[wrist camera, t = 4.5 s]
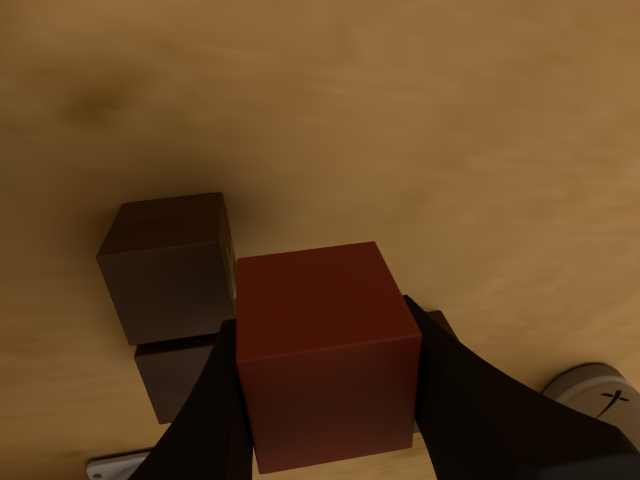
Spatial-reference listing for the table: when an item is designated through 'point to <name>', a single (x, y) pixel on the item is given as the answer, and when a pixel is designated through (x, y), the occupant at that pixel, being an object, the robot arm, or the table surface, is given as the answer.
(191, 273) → the T block
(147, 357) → the dark brown cube block
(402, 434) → the block
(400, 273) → the table surface
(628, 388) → the travel mug
